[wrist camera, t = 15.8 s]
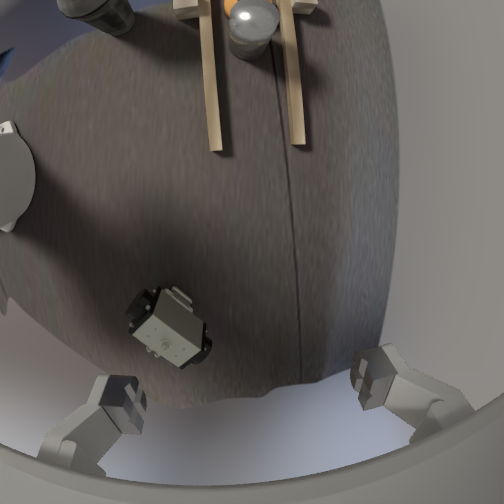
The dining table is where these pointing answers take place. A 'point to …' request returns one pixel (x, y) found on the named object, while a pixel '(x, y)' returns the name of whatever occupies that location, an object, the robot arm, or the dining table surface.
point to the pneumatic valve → (169, 326)
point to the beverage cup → (101, 14)
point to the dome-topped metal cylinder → (251, 27)
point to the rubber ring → (229, 3)
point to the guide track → (198, 5)
